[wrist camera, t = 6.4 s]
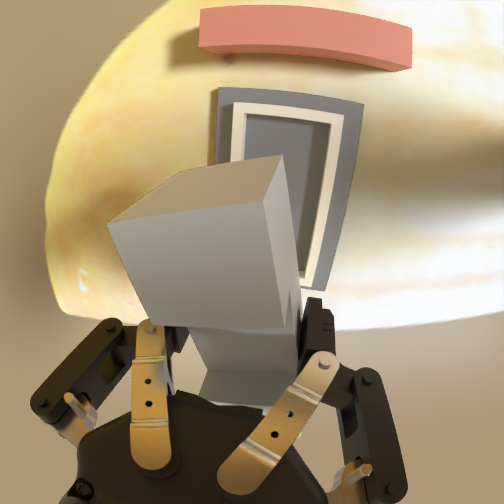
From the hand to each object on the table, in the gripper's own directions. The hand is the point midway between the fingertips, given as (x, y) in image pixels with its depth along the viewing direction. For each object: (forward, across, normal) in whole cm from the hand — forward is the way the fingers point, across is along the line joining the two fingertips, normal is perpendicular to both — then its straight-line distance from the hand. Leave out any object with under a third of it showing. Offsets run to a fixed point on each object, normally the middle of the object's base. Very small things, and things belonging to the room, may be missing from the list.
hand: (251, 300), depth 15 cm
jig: (+17, 0, 0) cm, 17 cm away
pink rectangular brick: (+17, -1, -17) cm, 24 cm away
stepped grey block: (+1, 0, 0) cm, 1 cm away
